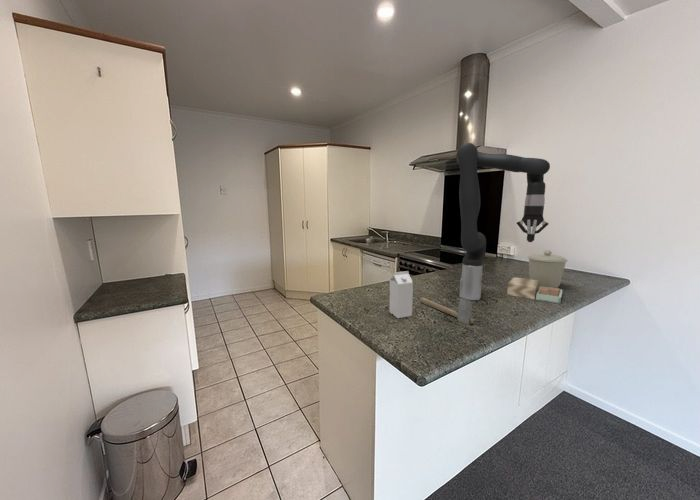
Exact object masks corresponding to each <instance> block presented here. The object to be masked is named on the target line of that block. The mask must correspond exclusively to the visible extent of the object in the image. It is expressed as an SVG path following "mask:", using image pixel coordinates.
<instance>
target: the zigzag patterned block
mask: <svg viewBox="0 0 700 500" xmlns="http://www.w3.org/2000/svg"><path fill="white" fill-rule="evenodd" d="M538 289H539V280H531V279H530V278H525V277H524V278H523V277H516V276H515V277H514V276H513V277H512V278H511V280H510V281H508V283H507V290H506V291H507V293H506V295H507V296H513V297H518V298H524V297H525V299H529V298H530V300H536V294H537V292H538Z"/></svg>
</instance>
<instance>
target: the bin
mask: <svg viewBox="0 0 700 500" xmlns="http://www.w3.org/2000/svg"><path fill="white" fill-rule="evenodd" d="M541 287H542V286H540V287H539V289H538V292H537V294H536V298H535V300H536V301H541V302H548V303H554V304H558V305H561V302H562V301H561V300H562V296H563V289H562V288H561V289H560V288H559V295H558V297H557V296H551V295H544V294H540V288H541ZM544 288H548V293H549V287H544Z"/></svg>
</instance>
